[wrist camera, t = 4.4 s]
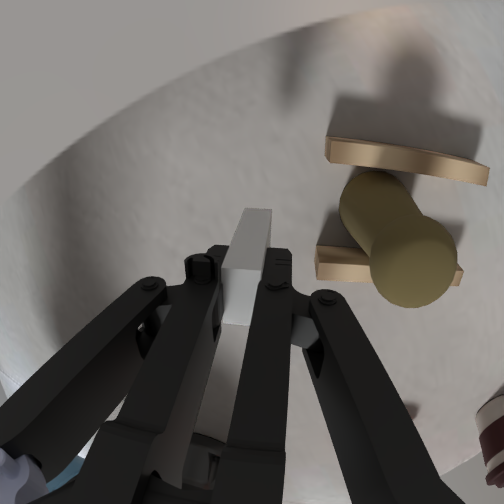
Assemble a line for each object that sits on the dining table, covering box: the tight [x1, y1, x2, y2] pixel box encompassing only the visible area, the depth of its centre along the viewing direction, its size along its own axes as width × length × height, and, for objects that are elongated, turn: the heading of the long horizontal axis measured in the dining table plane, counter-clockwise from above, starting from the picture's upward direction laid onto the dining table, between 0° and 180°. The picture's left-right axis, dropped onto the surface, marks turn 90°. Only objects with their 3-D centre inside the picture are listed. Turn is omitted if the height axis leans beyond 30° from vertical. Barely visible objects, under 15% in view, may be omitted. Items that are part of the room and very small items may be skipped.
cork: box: [339, 170, 457, 308], centre depth 19 cm, size 6×6×11 cm
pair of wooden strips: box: [314, 136, 490, 286], centre depth 22 cm, size 13×10×3 cm
